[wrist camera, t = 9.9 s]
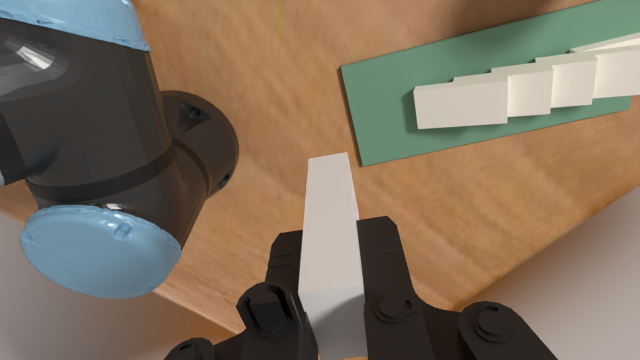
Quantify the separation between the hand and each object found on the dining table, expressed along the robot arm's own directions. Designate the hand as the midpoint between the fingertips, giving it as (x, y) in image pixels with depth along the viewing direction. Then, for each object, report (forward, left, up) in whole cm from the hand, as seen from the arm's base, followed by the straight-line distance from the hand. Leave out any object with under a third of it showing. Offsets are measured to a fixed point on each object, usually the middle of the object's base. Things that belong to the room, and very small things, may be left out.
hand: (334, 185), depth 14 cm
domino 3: (+18, -11, -31) cm, 37 cm away
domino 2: (+13, -11, -31) cm, 35 cm away
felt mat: (+18, -11, -32) cm, 38 cm away
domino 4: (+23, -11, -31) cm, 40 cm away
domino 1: (+9, -11, -31) cm, 34 cm away
